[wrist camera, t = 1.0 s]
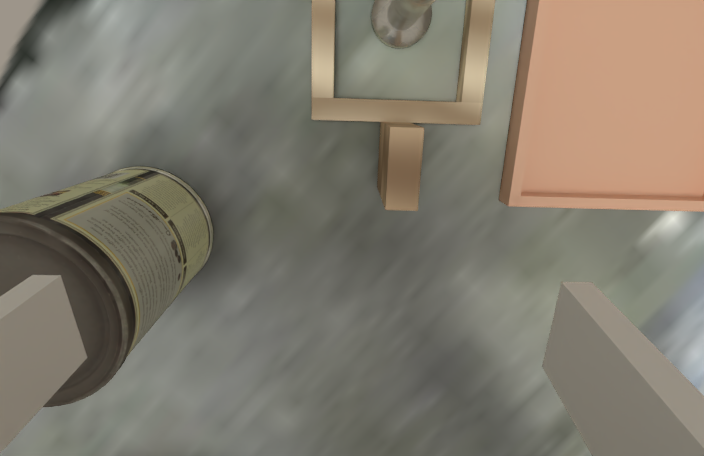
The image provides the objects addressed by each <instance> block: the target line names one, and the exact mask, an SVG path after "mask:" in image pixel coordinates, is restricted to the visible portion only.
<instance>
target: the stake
mask: <svg viewBox="0 0 704 456" xmlns="http://www.w3.org/2000/svg"><path fill="white" fill-rule="evenodd" d="M434 1H435V0H375V2H374V5H373V9H372V15H371V21H372V26H373V29H374V32H375V34H376V36H377V37H378V38H379V39H380V40H381V41H382V42H383V43H384V44H386V45H387V46H390V47H393V48H406V47H409V46H411V45H413V44H415V43H416V42H417V41H418V40H420V39H421V38H422V37H423V36H424V34H425V33H426V31H427V30H428V28H429V25H430V22H431V17H432V8H431V4H432V3H433V2H434Z"/></svg>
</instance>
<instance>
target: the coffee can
mask: <svg viewBox="0 0 704 456" xmlns="http://www.w3.org/2000/svg"><path fill="white" fill-rule="evenodd" d="M212 244H213V227H212V223H211V218H210V215H209V212H208V210H207V208H206V206H205V204H204V203H203V201H202V200H201V198H200V197H199V196H198V195H197V193H196V192H195V191H194V190H193V189H192V188H191V187H190V186H189V185H188V184H186V183H185V182H183V181H182V180H181V179H179V178H178V177H176V176H174V175H172V174H170V173H168V172H166V171H163V170H160V169H156V168H151V167H143V166H138V167H128V168H123V169H120V170H117V171H114V172H112V173H110V174H108V175H105V176H102V177H99V178H96V179H93V180H90V181H86V182H83V183H80V184H77V185H74V186H71V187H68V188H65V189H62V190H59V191H56V192H53V193H50V194H47V195H43V196H40V197H37V198H33V199H30V200H27V201H25V202H22V203H19V204H16V205H13V206H10V207H6V208H3V209H0V296H2V295H3V294H5V293H6V292H8V291H9V290H11V289H12V288H14V287H15V286H17V285H18V284H20V283H21V282H23V281H24V280H26V279H27V278H29V277H30V276H32V275H61V278H62V281H63V284H64V287H65V290H66V293H67V296H68V299H69V302H70V306H71V309H72V312H73V315H74V318H75V321H76V324H77V327H78V330H79V333H80V336H81V339H82V343H83V346H84V349H85V352H86V355H87V359H86V360H85V361H84V362H83V363H82V364H81V365H80V366H79V367H78V369H77V370H76V371H75V372H74V373H73V374H72V375H71V376H70V377H69V378H68V379H67V381H66V382H65V383H64V384H63V385H62V386H61V387H60V388H59V389H58V390H57V392H56V393H55V394H54V395H53V396H52V397H51V398H50V399H49V400H48V401H47V403H46V404H45V405H44V406H43V407H53V406H60V405H65V404H70V403H73V402H76V401H79V400H82V399H84V398H86V397H88V396H90V395H92V394H94V393H95V392H97V391H98V390H99V389H101V388H102V387H103V386H105V385H106V384H107V383H108V382H109V381H110V380H111V379H112V378H113V376H114V375H115V374H116V372H117V371H118V370H119V369H120V367H121V366H122V364H123V363H124V361H125V359H126V357H127V356H128V355H129V353H130V352H131V351H132V350H133V349H134V347H135V346H136V345H137V344H138V343H139V341H140V340H141V339H142V338H143V337H144V335H145V334H146V333H147V332H148V331H149V329H150V328H151V327H152V326H153V325H154V323H155V322H156V321H157V320H158V319H159V317H160V316H161V315H162V314H163V313H164V311H165V310H166V309H167V308H168V307H169V305H170V304H171V303H172V302H173V301H174V299H175V298H176V297H177V296H178V295H179V293H180V292H181V291H182V290H183V289H184V287H185V286H186V285H187V284H188V283H189V281H190V280H191V279H192V278H193V277H194V276H195V275H196V274H197V273H198V272H199V271H200V270H201V269H202V267H203V266H204V265H205V263H206V261H207V260H208V258H209V255H210V252H211V249H212Z"/></svg>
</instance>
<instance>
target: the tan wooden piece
mask: <svg viewBox="0 0 704 456" xmlns="http://www.w3.org/2000/svg"><path fill="white" fill-rule="evenodd" d="M335 1H336V0H312V120H339V121H371V122H380V141H379V161H378V181H377V188H378V190H379V193H380V196H381V199H382V202H383V204H384V207H385V210H406V211H418V200H419V188H420V176H421V164H422V151H423V139H424V128H423V127H420V126H418V125H415V124H412V123H436V124H468V125H480V121H481V113H482V105H483V96H484V88H485V80H486V72H487V63H488V55H489V47H490V39H491V30H492V22H493V14H494V6H495V0H466V10H465V19H464V29H463V39H462V49H461V58H460V68H459V78H458V88H457V98H456V102H439V101H408V100H377V99H346V98H334V61H335Z"/></svg>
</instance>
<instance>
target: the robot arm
mask: <svg viewBox="0 0 704 456" xmlns="http://www.w3.org/2000/svg"><path fill="white" fill-rule="evenodd" d="M86 359H87V355H86V352H85V349H84V346H83V343H82V339H81V336H80V333H79V330H78V327H77V324H76V321H75V318H74V315H73V312H72V309H71V306H70V302H69V299H68V296H67V293H66V290H65V287H64V284H63V281H62V278H61V275H32V276H30V277H29V278H27V279H26V280H24V281H23V282H21V283H20V284H18V285H17V286H15V287H14V288H12V289H11V290H9V291H8V292H6V293H5V294H3V295H2V296H0V453H1V452H2V451H3V450H4V449H5V448H6V446H7V445H8V444H9V443H10V442H11V441H12V440H13V439H14V438H15V437H16V435H17V434H18V433H19V432H20V431H21V430H22V429H23V428H24V427H25V426H26V424H27V423H28V422H29V421H30V420H31V419H32V418H33V417H34V416H35V415H36V414H37V412H38V411H39V410H40V409H41V408H42V407H43V406H44V405H45V404H46V403H47V401H48V400H49V399H50V398H51V397H52V396H53V395H54V394H55V393H56V392H57V390H58V389H59V388H60V387H61V386H62V385H63V384H64V383H65V382H66V381H67V379H68V378H69V377H70V376H71V375H72V374H73V373H74V372H75V371H76V370H77V369H78V367H79V366H80V365H81V364H82V363H83V362H84V361H85V360H86ZM542 367H543V369H544V371H545V372H546V374H547V376H548V378H549V379H550V381H551V383H552V385H553V387H554V388H555V390H556V392H557V394H558V395H559V397H560V399H561V401H562V403H563V404H564V406H565V408H566V410H567V411H568V413H569V415H570V417H571V419H572V420H573V422H574V424H575V426H576V427H577V429H578V431H579V433H580V435H581V436H582V438H583V440H584V442H585V443H586V445H587V447H588V449H589V451H590V452H591V454H592V456H704V396H703V395H702V394H701V393H700V392H699V391H698V390H697V389H696V388H695V387H694V386H693V385H692V383H691V382H690V381H689V380H688V379H687V378H686V377H685V376H684V375H683V374H682V373H681V372H680V371H679V370H678V369H677V368H676V367H675V366H674V365H673V364H672V363H671V362H670V361H669V360H668V359H667V358H666V357H665V356H664V355H663V354H662V353H661V352H660V351H659V350H658V349H657V348H656V347H655V346H654V345H653V344H652V343H651V342H650V341H649V340H648V339H647V338H646V337H645V336H644V335H643V334H642V333H641V332H640V331H639V330H638V329H637V328H636V327H635V326H634V325H633V324H632V323H631V322H630V321H629V320H628V319H627V317H626V316H625V315H624V314H623V313H622V312H621V311H620V310H619V309H618V308H617V307H616V306H615V305H614V304H613V303H612V302H611V301H610V300H609V299H608V298H607V297H606V296H605V295H604V294H603V293H602V292H601V291H600V290H599V289H598V288H597V287H596V286H595V285H594V284H593V283H592V282H561V287H560V291H559V295H558V300H557V304H556V308H555V313H554V317H553V321H552V326H551V330H550V334H549V339H548V343H547V347H546V352H545V356H544V360H543V365H542Z"/></svg>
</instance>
